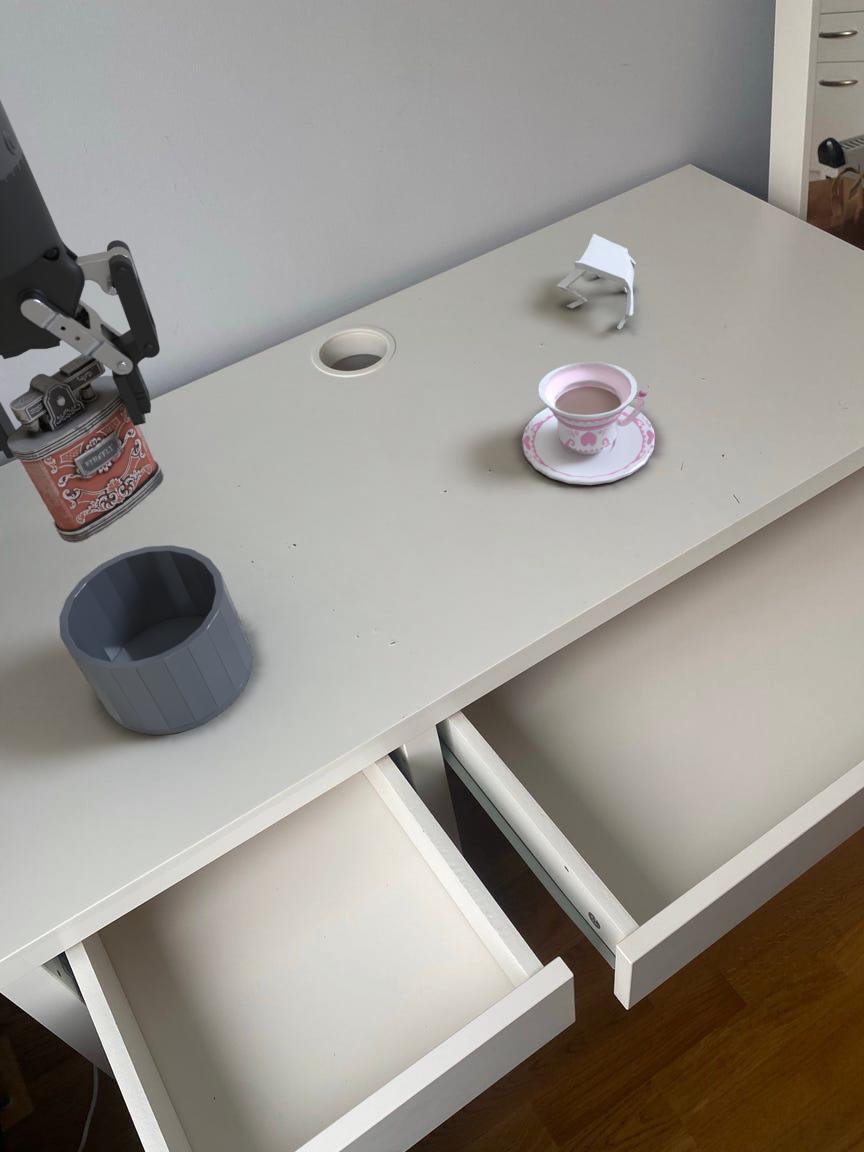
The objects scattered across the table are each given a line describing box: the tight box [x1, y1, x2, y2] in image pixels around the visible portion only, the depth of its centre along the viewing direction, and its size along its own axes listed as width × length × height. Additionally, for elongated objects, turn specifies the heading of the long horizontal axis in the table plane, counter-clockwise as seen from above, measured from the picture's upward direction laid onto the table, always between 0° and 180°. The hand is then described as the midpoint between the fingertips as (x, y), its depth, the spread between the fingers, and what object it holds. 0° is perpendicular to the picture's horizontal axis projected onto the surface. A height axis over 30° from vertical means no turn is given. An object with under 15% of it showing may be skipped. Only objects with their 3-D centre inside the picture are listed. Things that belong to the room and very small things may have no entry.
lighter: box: [7, 353, 165, 544], centre depth 61 cm, size 8×3×10 cm, turn 143°
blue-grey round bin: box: [58, 544, 253, 736], centre depth 72 cm, size 12×12×8 cm
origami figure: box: [556, 233, 637, 330], centre depth 100 cm, size 12×8×5 cm
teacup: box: [521, 361, 656, 486], centre depth 86 cm, size 12×12×6 cm
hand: (76, 433), depth 60 cm, fingers closed on lighter, 7 cm apart
